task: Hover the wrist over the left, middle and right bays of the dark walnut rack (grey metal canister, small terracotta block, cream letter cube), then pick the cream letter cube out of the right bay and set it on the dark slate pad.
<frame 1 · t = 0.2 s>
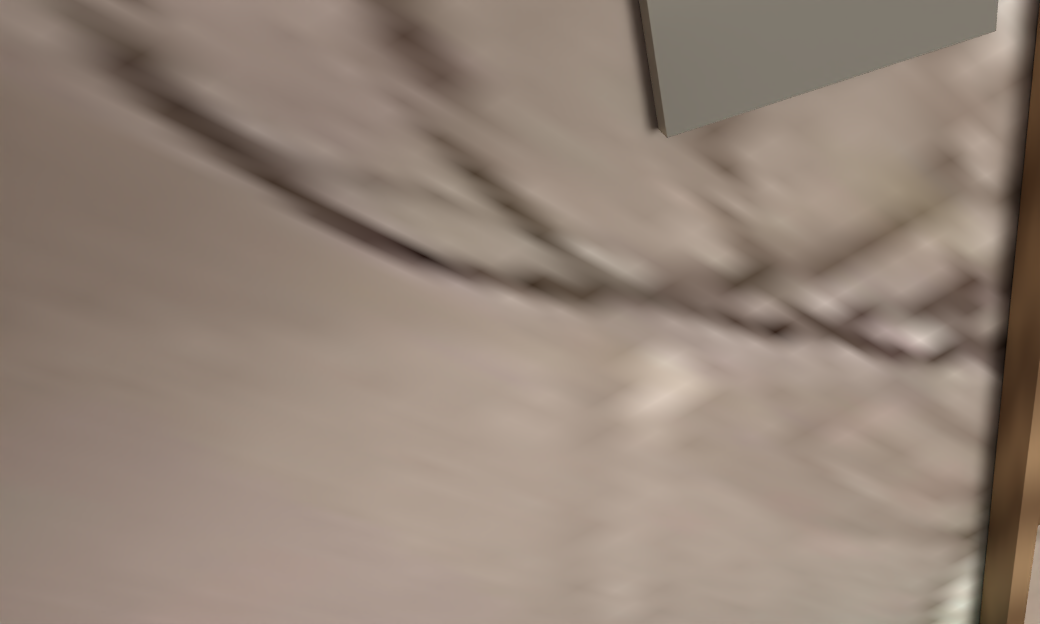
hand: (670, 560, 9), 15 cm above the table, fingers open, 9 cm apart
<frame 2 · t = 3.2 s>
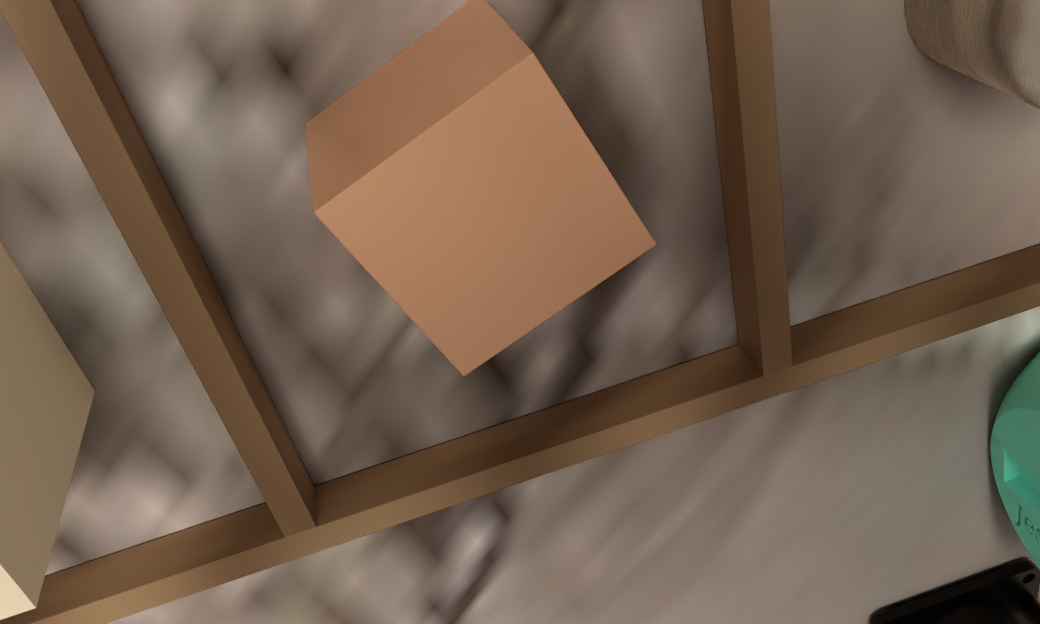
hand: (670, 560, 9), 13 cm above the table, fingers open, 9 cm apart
terracotta block: (471, 180, 18), in the walnut rack
walnut rack: (453, 143, 20), on the table
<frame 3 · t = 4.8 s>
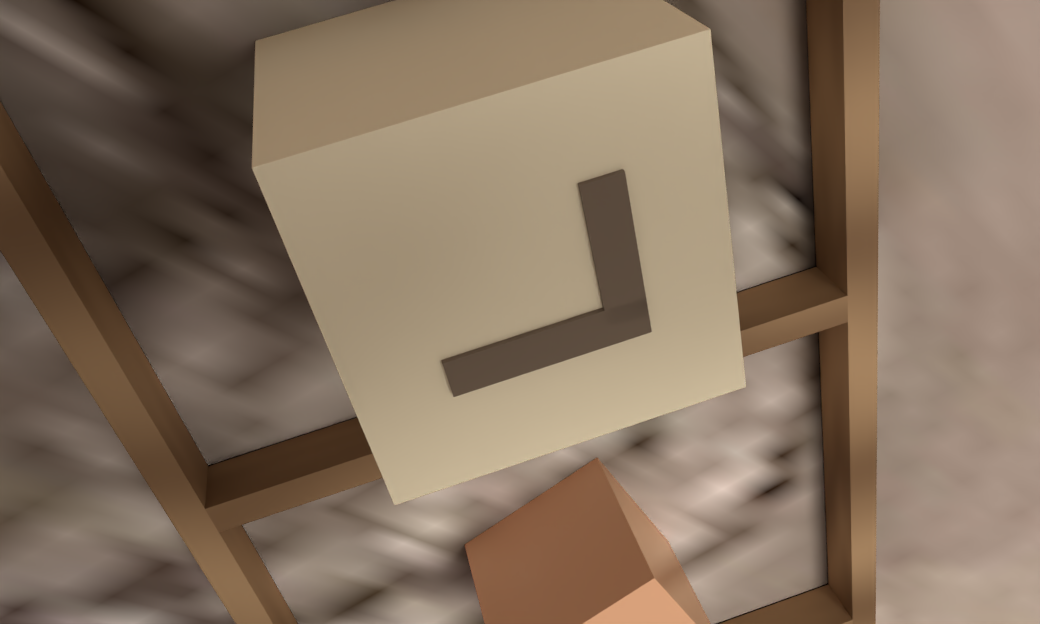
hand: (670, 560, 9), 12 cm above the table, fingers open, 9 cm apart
letter cube: (459, 144, 19), resting in walnut rack
terracotta block: (592, 600, 25), in the walnut rack
walnut rack: (570, 544, 26), on the table
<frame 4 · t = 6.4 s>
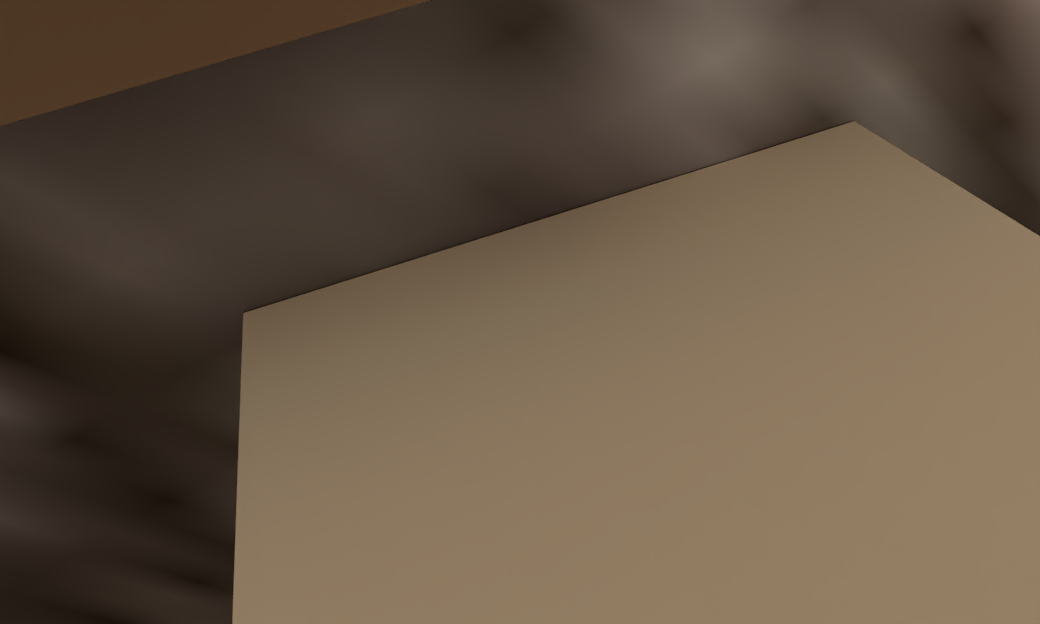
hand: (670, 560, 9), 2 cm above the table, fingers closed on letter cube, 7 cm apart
letter cube: (608, 447, 11), resting in walnut rack, touching gripper
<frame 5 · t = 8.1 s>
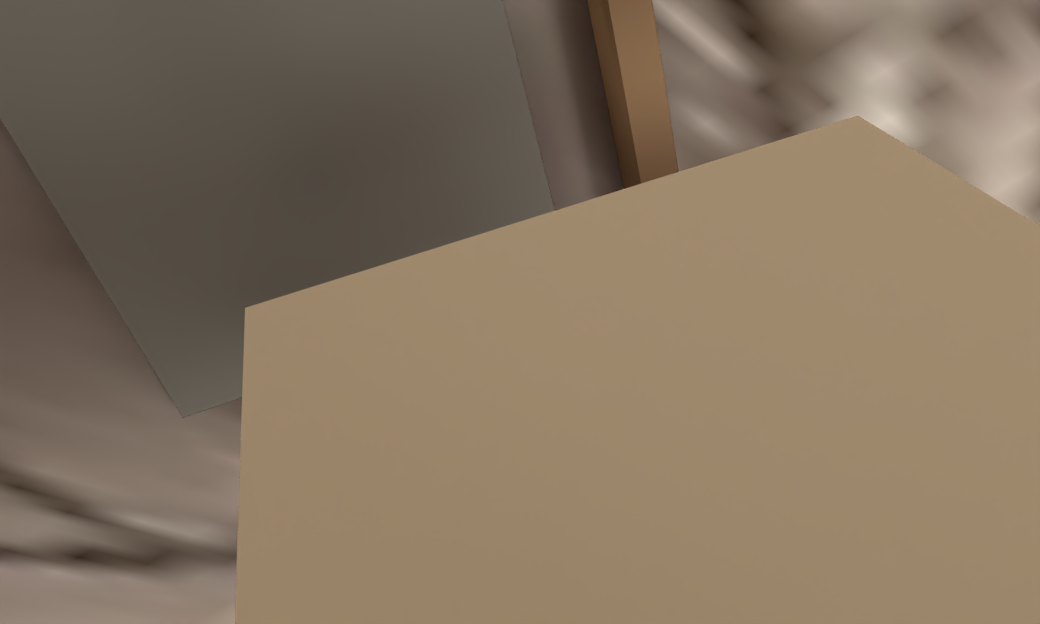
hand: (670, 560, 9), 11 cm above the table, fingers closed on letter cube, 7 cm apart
letter cube: (610, 443, 11), point 9 cm above the table, touching gripper
slate pad: (304, 158, 18), on the table
walnut rack: (962, 490, 28), on the table
when the fingers open (3 cm above the table, at t = 10.1 s): letter cube drops 1 cm, resting on slate pad.
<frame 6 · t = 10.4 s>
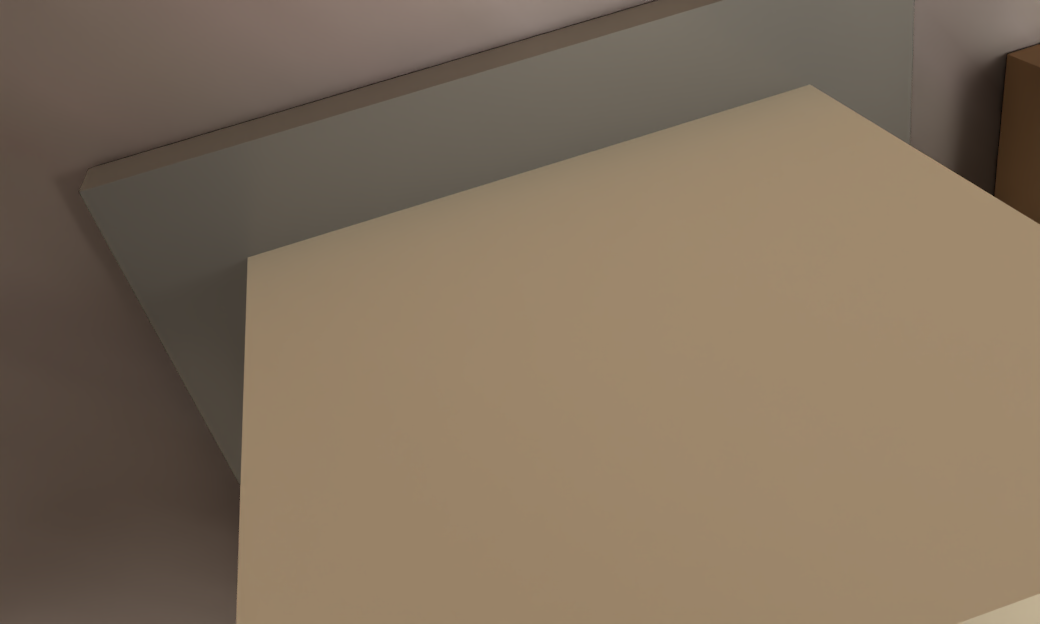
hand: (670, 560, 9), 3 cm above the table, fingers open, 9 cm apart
letter cube: (586, 392, 12), point 1 cm above the table, touching slate pad
slate pad: (575, 368, 12), on the table
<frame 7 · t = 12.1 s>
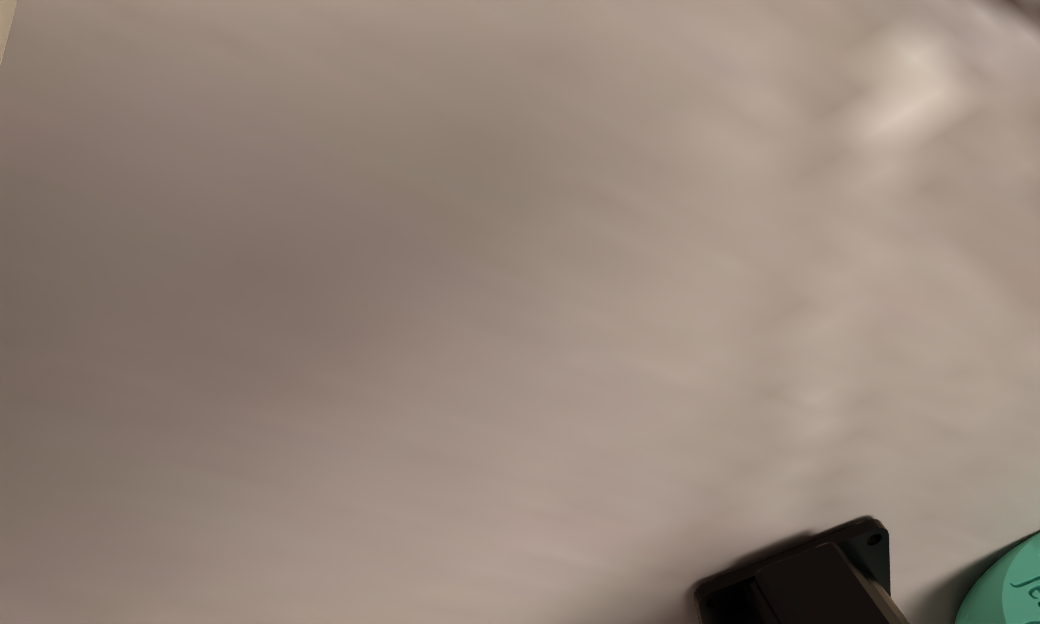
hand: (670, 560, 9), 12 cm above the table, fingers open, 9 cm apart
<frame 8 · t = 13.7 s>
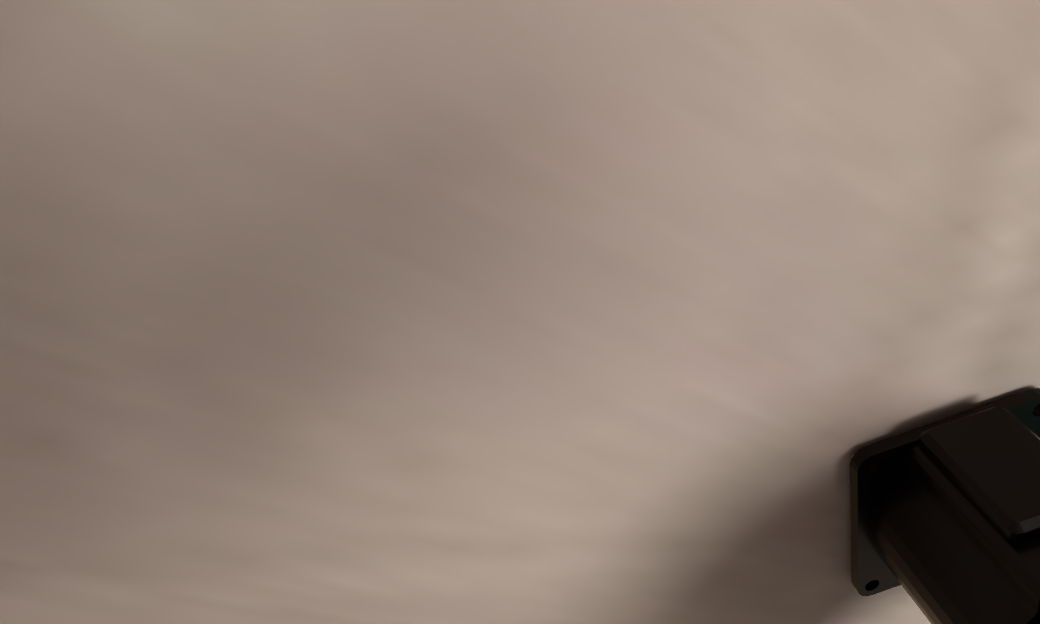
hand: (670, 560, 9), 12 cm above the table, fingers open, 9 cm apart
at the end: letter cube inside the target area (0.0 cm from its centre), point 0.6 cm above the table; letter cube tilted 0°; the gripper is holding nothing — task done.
